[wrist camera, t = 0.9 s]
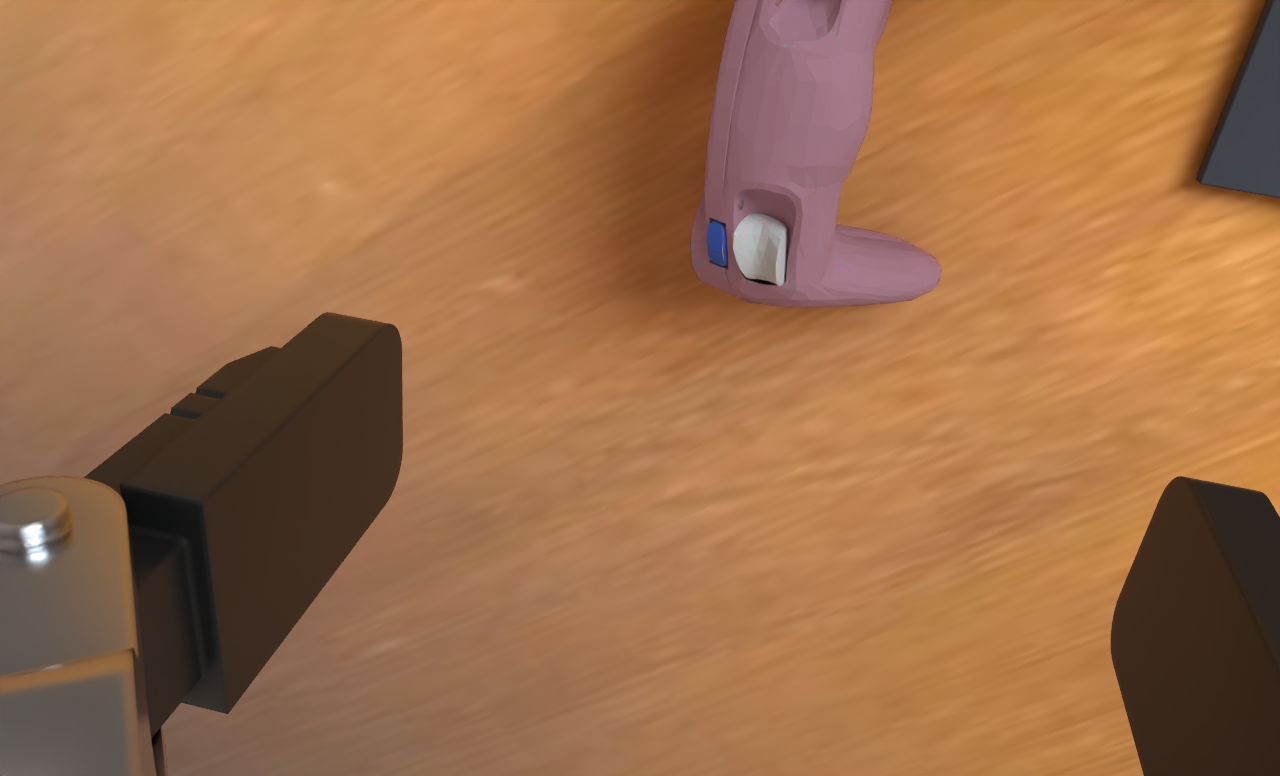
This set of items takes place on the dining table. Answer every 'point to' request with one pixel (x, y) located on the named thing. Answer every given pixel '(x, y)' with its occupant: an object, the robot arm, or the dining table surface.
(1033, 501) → the dining table surface
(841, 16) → the video game controller
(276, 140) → the dining table surface
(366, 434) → the robot arm
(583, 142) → the dining table surface
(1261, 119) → the felt mat
